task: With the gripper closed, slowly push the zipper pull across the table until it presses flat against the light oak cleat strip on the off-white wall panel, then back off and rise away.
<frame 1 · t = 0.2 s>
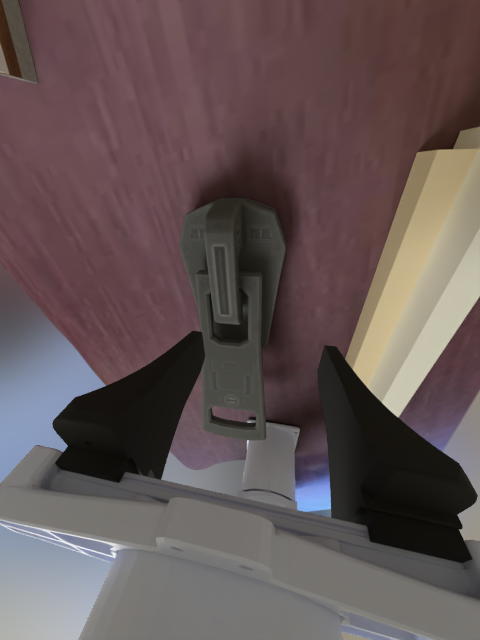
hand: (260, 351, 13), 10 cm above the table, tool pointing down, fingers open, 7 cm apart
zipper pull: (239, 322, 25), on the table
cleat wall panel: (374, 336, 23), on the table
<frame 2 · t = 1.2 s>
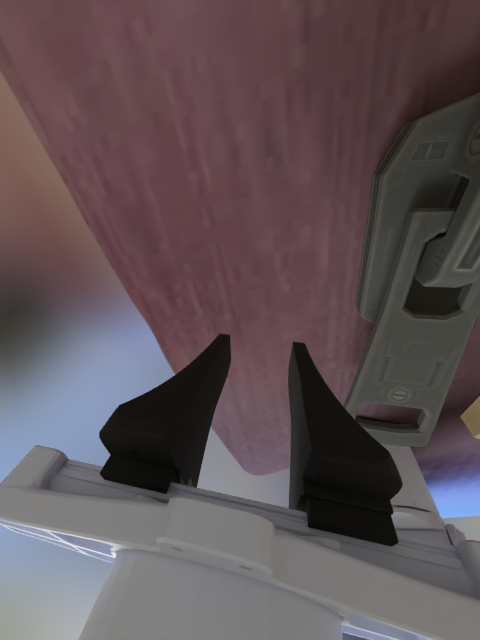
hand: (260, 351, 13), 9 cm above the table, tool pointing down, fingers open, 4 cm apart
zipper pull: (396, 295, 20), on the table
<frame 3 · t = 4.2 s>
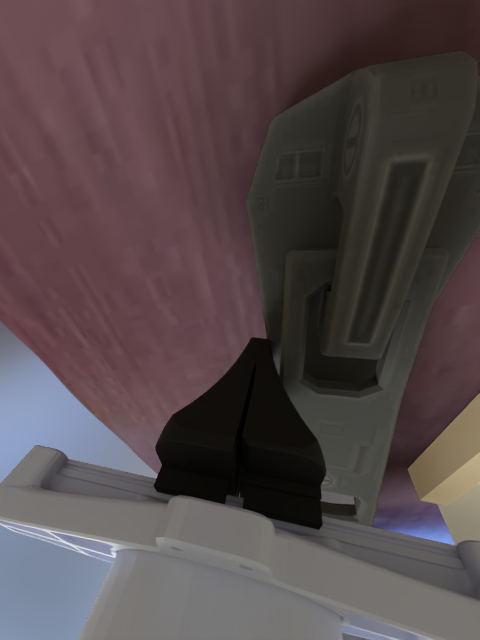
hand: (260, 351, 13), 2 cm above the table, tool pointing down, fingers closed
zipper pull: (323, 342, 15), on the table, touching gripper
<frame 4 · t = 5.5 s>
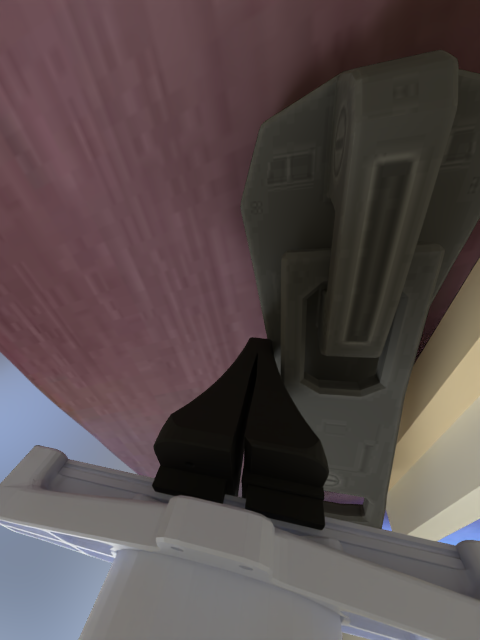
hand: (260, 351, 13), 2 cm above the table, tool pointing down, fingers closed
zipper pull: (325, 342, 15), on the table, touching gripper
cleat wall panel: (463, 348, 13), on the table
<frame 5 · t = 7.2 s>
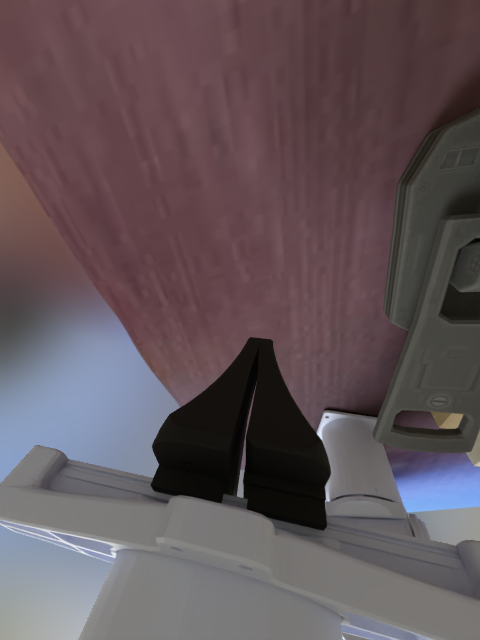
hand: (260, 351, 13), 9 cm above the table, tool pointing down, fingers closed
zipper pull: (426, 298, 19), on the table
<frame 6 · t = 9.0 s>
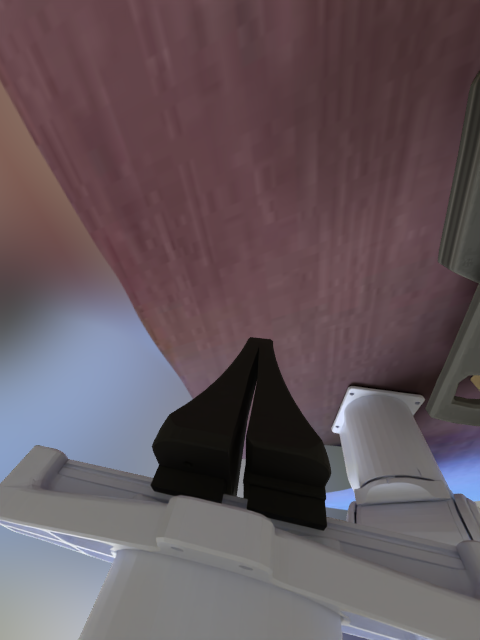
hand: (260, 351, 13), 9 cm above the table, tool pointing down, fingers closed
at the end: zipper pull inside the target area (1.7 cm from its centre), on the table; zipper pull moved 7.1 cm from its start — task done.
